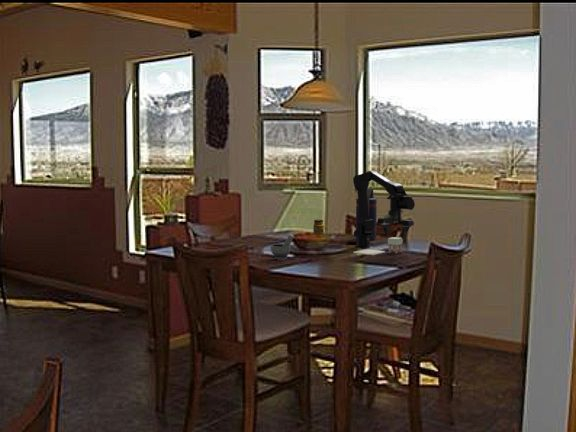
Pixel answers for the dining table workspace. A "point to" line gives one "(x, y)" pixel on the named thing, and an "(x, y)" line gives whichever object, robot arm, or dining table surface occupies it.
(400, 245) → the stool
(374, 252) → the mat
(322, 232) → the condiment
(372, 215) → the dark blue bottle
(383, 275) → the dining table surface
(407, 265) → the dining table surface
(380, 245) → the dining table surface
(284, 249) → the mortar and pestle
